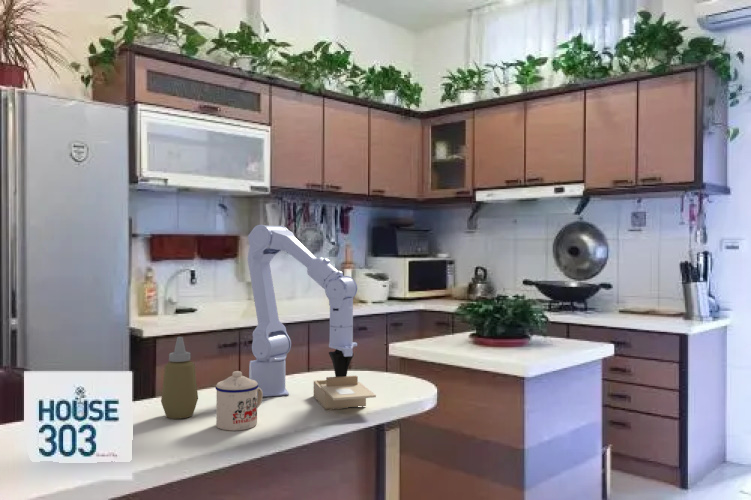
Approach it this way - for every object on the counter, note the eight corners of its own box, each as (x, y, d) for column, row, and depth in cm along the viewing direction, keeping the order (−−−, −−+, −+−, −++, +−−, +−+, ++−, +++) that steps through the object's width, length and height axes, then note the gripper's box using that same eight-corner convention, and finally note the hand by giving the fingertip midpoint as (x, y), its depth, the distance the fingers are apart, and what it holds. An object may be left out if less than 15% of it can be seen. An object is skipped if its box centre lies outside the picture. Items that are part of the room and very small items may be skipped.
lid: (320, 386, 155) (320, 376, 155) (359, 384, 158) (359, 374, 158) (333, 400, 142) (333, 389, 142) (375, 397, 145) (375, 386, 145)
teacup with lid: (235, 434, 131) (235, 378, 131) (206, 426, 136) (206, 372, 136) (276, 421, 141) (276, 368, 140) (247, 414, 146) (247, 363, 146)
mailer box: (313, 396, 163) (313, 380, 163) (350, 393, 166) (351, 378, 166) (325, 410, 150) (325, 393, 150) (365, 407, 153) (365, 390, 153)
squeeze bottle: (160, 413, 146) (160, 335, 146) (196, 410, 149) (196, 333, 149) (161, 422, 139) (161, 340, 139) (199, 419, 142) (199, 338, 141)
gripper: (365, 329, 150) (364, 386, 150) (349, 321, 164) (349, 373, 164) (336, 330, 148) (335, 388, 148) (322, 322, 162) (322, 375, 162)
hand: (340, 380), depth 156 cm, fingers closed
